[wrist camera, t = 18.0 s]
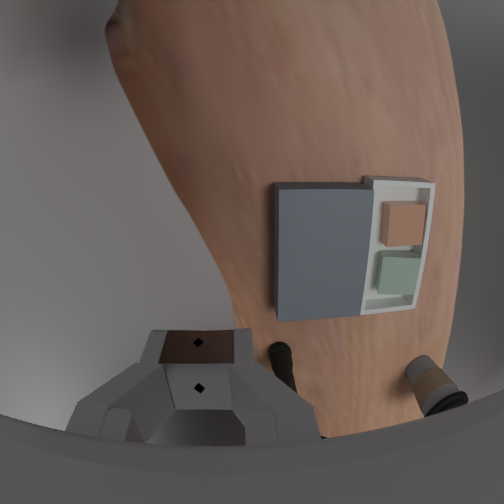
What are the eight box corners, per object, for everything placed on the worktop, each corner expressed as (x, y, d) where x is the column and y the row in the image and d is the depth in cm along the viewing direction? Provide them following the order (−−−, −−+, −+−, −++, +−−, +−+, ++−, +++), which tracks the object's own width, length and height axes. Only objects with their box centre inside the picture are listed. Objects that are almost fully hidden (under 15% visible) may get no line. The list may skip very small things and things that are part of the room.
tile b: (421, 258, 42) (416, 252, 44) (383, 256, 43) (380, 250, 45) (414, 295, 44) (410, 287, 47) (377, 294, 45) (375, 286, 48)
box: (363, 175, 42) (373, 179, 39) (422, 178, 42) (435, 183, 39) (351, 303, 49) (358, 315, 46) (405, 298, 50) (414, 308, 46)
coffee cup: (444, 349, 55) (480, 396, 41) (423, 383, 58) (452, 431, 44) (411, 347, 54) (446, 400, 40) (390, 383, 57) (417, 437, 43)
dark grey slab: (273, 182, 42) (278, 189, 37) (360, 182, 42) (374, 189, 38) (273, 303, 48) (277, 321, 44) (349, 298, 49) (359, 315, 44)
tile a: (426, 204, 40) (417, 200, 43) (390, 205, 40) (382, 201, 43) (421, 244, 43) (413, 238, 45) (386, 247, 43) (379, 241, 45)
